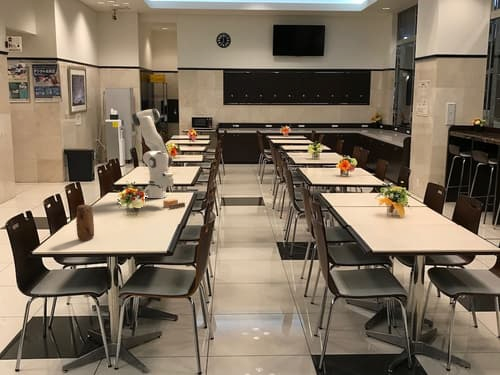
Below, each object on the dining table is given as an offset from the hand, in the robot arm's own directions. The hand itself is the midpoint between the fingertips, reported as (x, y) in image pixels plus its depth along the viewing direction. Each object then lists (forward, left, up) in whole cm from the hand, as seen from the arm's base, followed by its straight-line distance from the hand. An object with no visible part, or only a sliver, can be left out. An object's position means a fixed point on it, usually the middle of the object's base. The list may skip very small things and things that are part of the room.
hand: (164, 191), depth 394 cm
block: (+45, -89, -11) cm, 101 cm away
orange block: (+7, 0, -11) cm, 13 cm away
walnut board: (+15, 0, -11) cm, 19 cm away
